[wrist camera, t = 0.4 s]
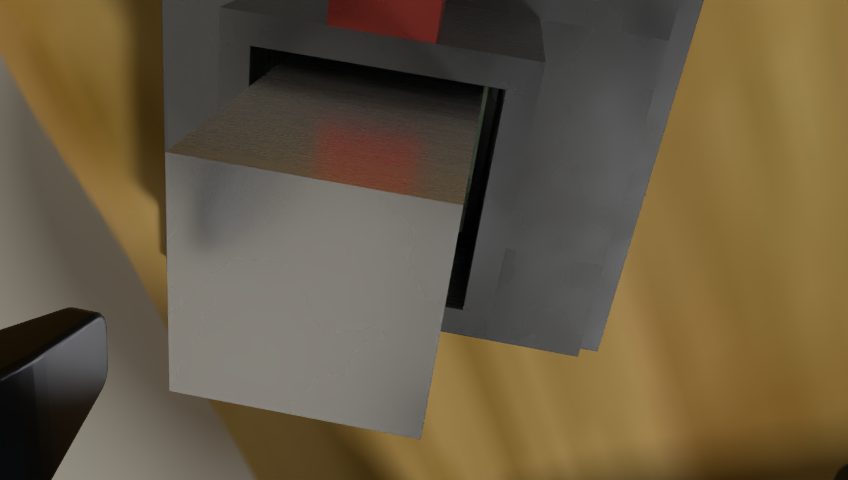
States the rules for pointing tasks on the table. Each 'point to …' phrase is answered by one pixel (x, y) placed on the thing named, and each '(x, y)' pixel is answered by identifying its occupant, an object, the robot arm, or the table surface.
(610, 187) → the jack stand base
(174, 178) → the column
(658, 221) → the table surface
